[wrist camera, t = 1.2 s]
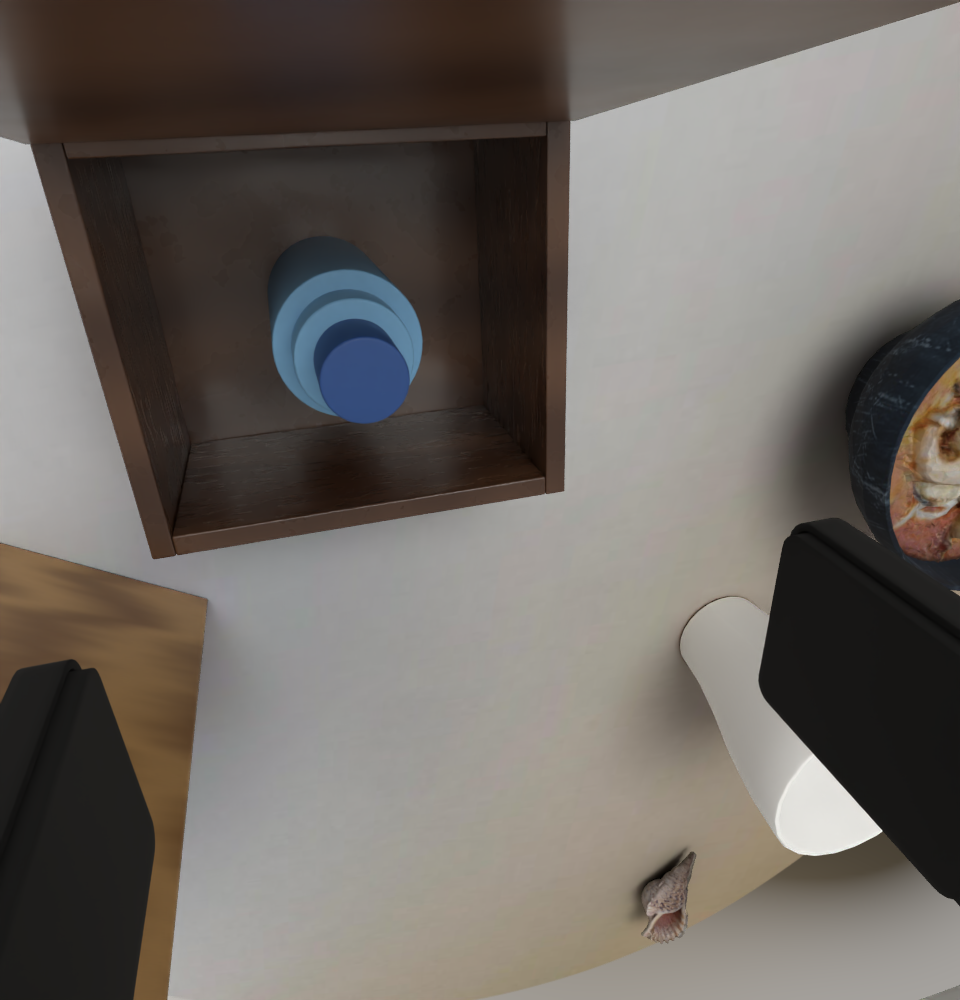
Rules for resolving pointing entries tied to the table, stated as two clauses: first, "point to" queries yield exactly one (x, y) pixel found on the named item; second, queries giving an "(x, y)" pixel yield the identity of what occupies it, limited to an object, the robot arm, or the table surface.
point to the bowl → (911, 445)
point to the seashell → (668, 903)
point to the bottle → (341, 331)
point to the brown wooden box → (247, 334)
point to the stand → (121, 695)
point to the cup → (768, 735)
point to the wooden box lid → (379, 60)
